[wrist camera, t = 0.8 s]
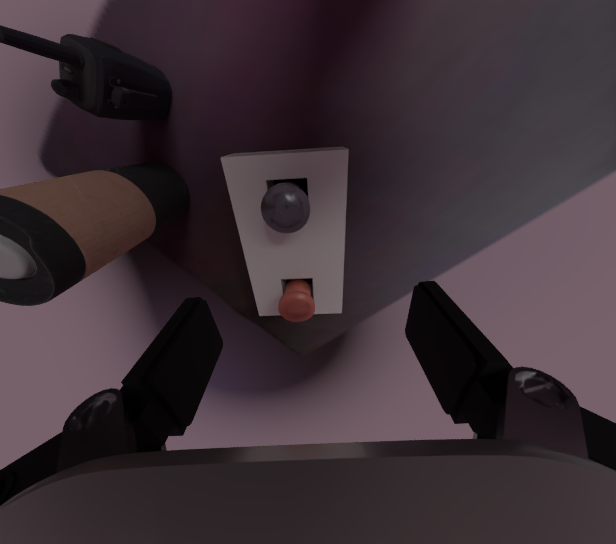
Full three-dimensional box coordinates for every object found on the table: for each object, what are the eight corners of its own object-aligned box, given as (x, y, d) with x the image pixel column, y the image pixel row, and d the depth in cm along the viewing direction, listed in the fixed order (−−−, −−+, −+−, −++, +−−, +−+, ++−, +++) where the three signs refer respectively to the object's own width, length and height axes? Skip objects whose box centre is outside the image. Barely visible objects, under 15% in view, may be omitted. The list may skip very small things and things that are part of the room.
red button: (279, 276, 33) (275, 295, 29) (313, 275, 33) (314, 293, 29) (283, 302, 36) (280, 322, 32) (315, 301, 36) (315, 321, 32)
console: (233, 153, 28) (220, 157, 24) (342, 146, 27) (348, 149, 23) (264, 297, 41) (259, 316, 37) (338, 294, 41) (341, 313, 36)
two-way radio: (144, 55, 23) (-54, -34, 10) (186, 84, 24) (55, 34, 12) (136, 111, 26) (-30, 92, 13) (175, 134, 27) (57, 137, 14)
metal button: (264, 177, 25) (256, 186, 22) (308, 175, 25) (308, 182, 21) (271, 220, 28) (265, 234, 24) (311, 218, 28) (311, 232, 24)
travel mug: (143, 213, 32) (-34, 302, 16) (126, 156, 28) (-142, 194, 12) (196, 219, 33) (77, 312, 16) (186, 163, 29) (12, 210, 12)
